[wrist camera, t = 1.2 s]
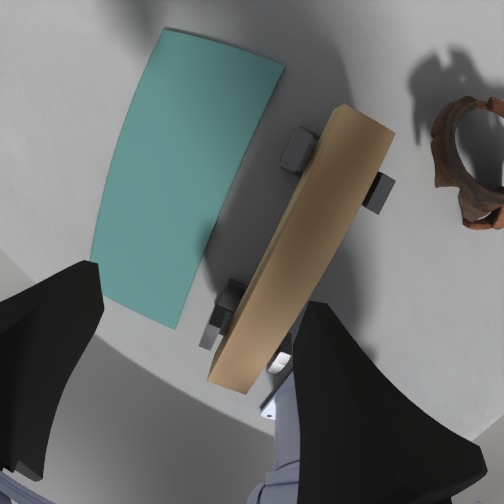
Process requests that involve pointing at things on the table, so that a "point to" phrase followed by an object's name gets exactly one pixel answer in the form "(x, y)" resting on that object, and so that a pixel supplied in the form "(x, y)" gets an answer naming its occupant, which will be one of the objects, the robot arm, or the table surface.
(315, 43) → the table surface
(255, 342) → the oak bar
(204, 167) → the teal mat
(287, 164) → the hook standards
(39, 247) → the table surface
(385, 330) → the table surface
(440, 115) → the pottery mug
